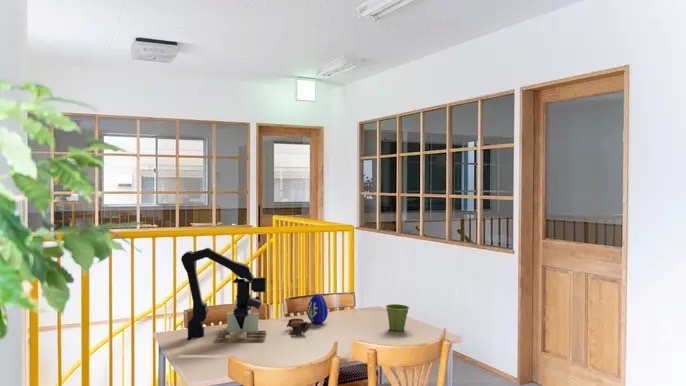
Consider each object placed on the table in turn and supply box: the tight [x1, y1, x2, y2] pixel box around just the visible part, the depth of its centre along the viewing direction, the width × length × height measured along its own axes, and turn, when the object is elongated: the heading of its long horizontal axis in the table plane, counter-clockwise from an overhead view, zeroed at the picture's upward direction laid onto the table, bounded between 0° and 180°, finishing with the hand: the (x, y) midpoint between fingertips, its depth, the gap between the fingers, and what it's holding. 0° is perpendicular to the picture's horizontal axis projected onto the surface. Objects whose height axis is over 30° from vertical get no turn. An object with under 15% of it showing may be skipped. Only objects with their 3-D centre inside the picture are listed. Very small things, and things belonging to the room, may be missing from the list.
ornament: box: [306, 293, 329, 325], centre depth 274 cm, size 11×9×15 cm
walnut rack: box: [213, 330, 268, 343], centre depth 242 cm, size 22×15×2 cm
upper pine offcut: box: [230, 331, 247, 337], centre depth 237 cm, size 7×3×2 cm, turn 94°
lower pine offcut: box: [225, 335, 247, 338], centre depth 237 cm, size 9×3×2 cm, turn 94°
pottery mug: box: [286, 318, 310, 337], centre depth 254 cm, size 12×10×8 cm
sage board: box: [226, 312, 259, 332], centre depth 246 cm, size 14×2×10 cm, turn 94°
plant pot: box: [385, 303, 410, 332], centre depth 264 cm, size 12×12×11 cm
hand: (242, 326), depth 246 cm, fingers open, 9 cm apart
